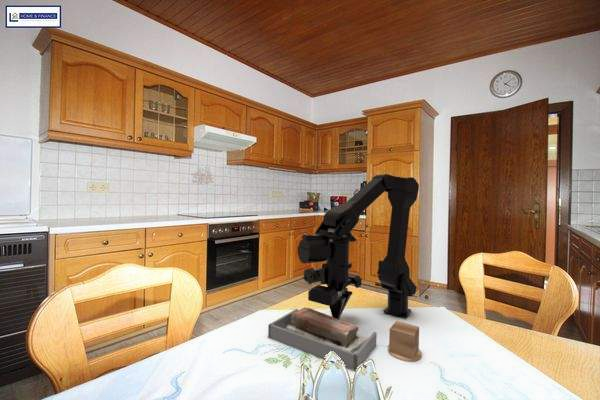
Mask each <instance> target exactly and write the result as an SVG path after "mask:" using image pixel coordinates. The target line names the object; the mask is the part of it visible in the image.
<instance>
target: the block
mask: <svg viewBox="0 0 600 400" xmlns="http://www.w3.org/2000/svg"><path fill="white" fill-rule="evenodd" d="M388 345H389V352H391V353H394V354H397V355H400V356H403V357H406V358H409V359H412V360H414V358H415V356H416V354H417V352H418V350H420V348H419V347H420V326H418V325H414V324H412V323H411V324H410V323H407V322H403V321H400V320H395V322H393V324H392V325H391V326H390V328H389V341H388ZM389 352H388V353H389Z"/></svg>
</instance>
